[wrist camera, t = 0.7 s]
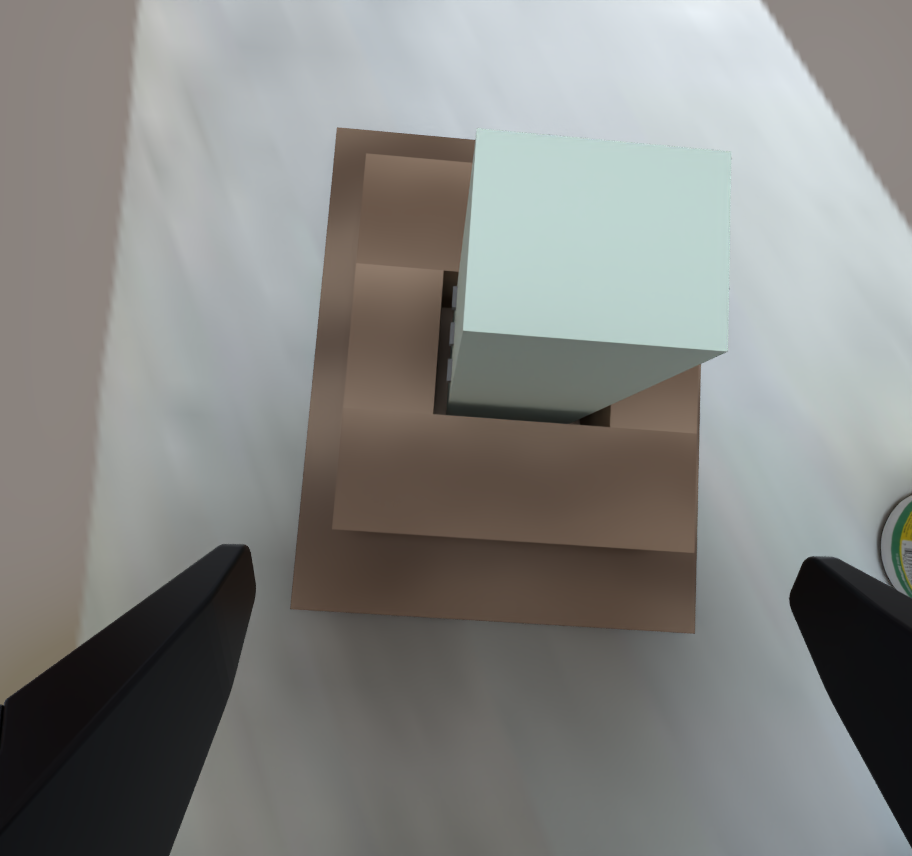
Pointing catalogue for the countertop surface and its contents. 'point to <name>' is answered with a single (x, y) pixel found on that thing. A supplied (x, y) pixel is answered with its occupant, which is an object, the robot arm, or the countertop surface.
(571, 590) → the brown stepped stand
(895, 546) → the supplement bottle
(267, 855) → the countertop surface
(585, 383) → the stub
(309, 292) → the countertop surface
